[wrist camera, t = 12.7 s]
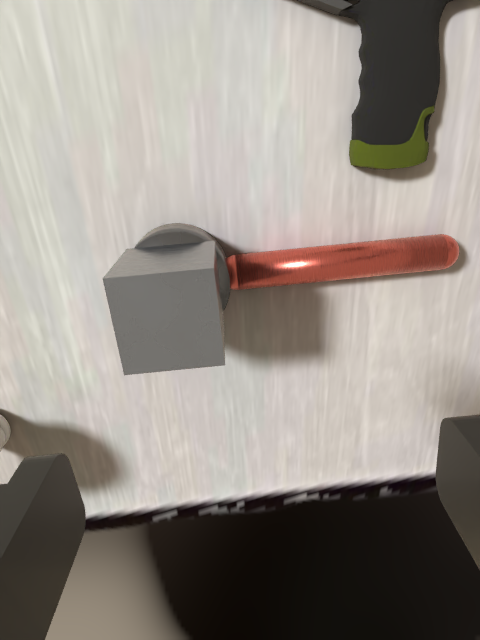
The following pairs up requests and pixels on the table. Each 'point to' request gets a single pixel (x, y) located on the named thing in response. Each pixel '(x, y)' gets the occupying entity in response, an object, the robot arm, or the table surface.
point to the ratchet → (314, 259)
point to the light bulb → (4, 431)
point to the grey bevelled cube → (167, 308)
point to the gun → (393, 78)
